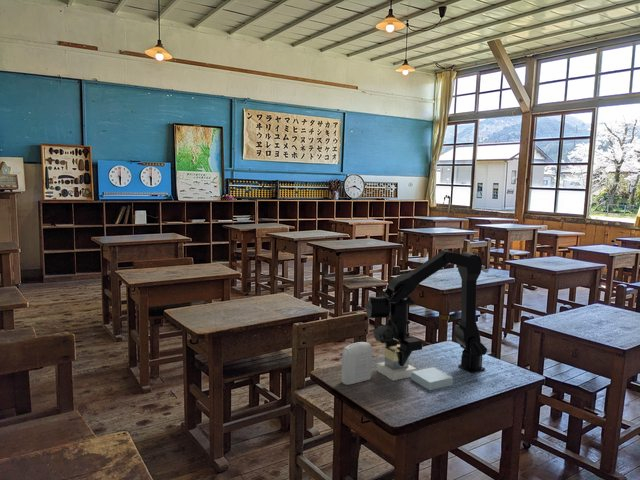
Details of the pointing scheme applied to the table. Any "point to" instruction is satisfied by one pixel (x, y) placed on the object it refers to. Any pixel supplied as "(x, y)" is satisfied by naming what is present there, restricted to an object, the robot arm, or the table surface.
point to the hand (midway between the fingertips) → (396, 362)
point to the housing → (394, 358)
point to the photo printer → (356, 363)
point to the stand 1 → (395, 371)
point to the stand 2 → (431, 378)
